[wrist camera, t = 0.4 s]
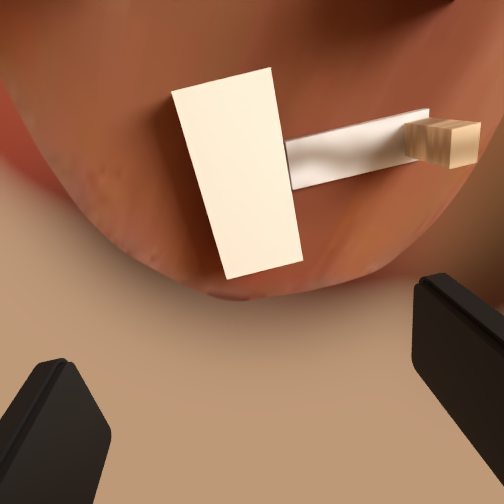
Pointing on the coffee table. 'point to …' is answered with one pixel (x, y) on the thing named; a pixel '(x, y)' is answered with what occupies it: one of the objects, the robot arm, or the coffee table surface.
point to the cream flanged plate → (241, 170)
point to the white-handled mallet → (381, 147)
